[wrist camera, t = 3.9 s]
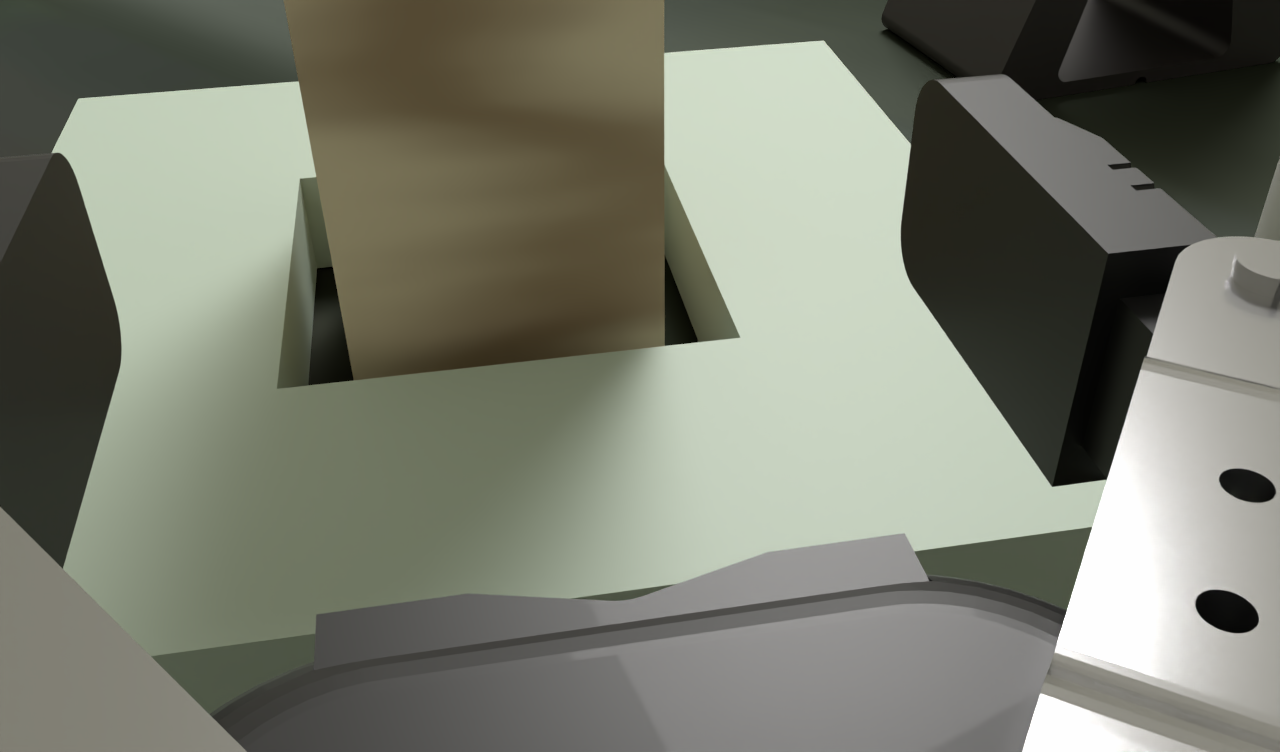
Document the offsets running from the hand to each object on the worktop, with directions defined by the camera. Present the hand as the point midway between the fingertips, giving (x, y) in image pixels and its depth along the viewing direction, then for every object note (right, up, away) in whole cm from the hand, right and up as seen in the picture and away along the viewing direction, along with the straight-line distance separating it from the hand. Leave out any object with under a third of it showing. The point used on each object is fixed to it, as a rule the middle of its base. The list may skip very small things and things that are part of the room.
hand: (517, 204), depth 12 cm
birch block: (-1, -1, +11) cm, 11 cm away
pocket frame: (-1, -1, +11) cm, 11 cm away
